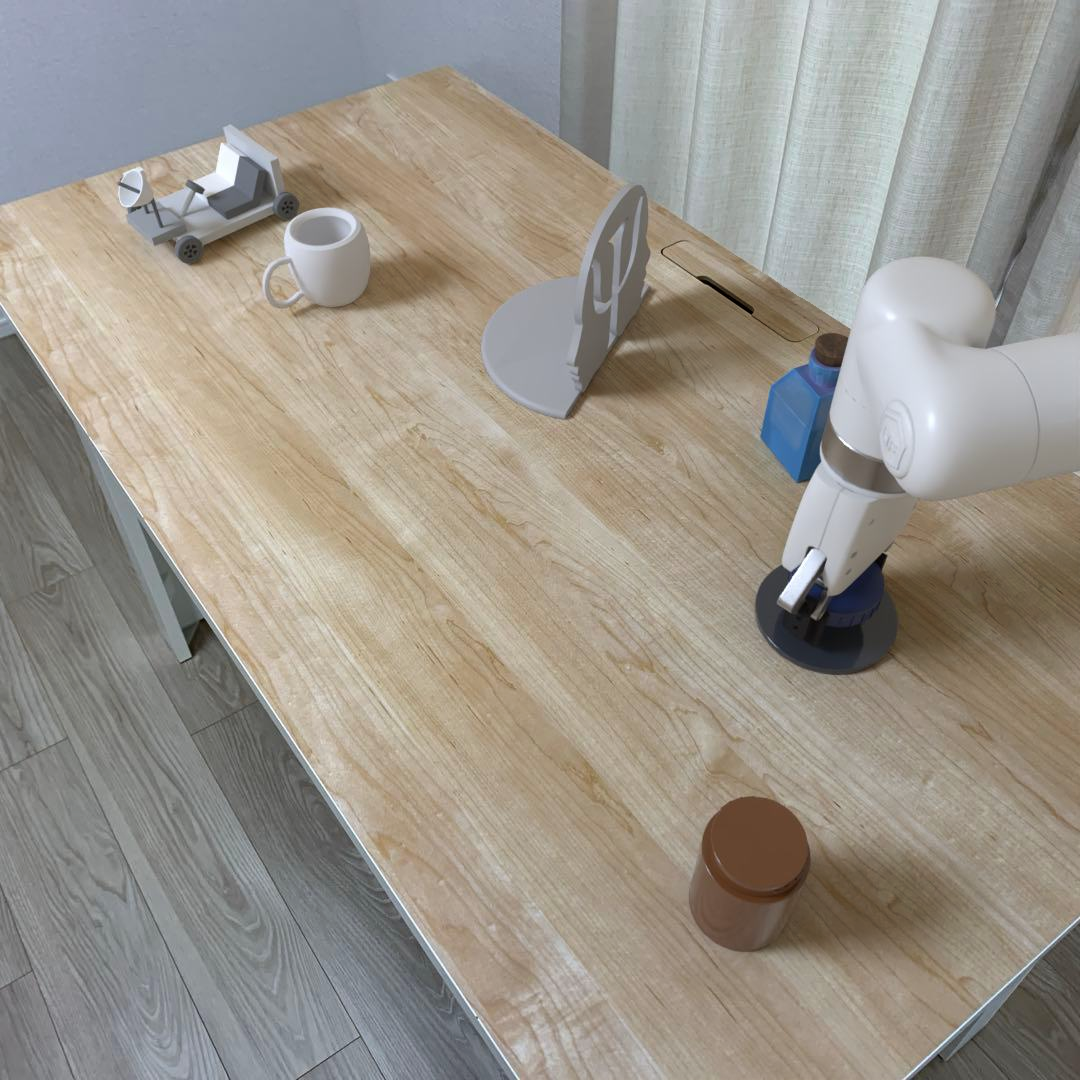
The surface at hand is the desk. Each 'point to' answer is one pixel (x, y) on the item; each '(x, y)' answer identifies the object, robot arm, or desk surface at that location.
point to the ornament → (572, 314)
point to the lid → (853, 598)
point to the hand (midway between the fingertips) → (829, 604)
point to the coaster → (825, 633)
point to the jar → (749, 873)
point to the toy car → (210, 199)
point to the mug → (324, 258)
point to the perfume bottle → (803, 407)
